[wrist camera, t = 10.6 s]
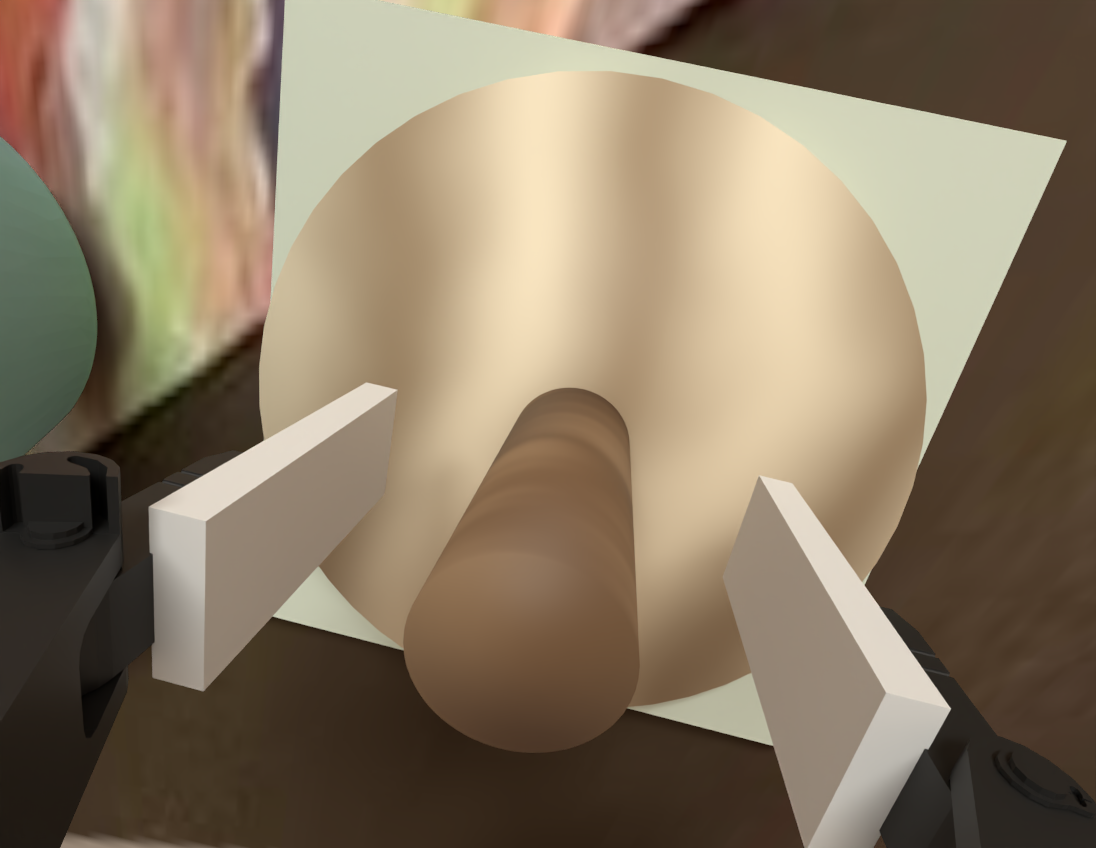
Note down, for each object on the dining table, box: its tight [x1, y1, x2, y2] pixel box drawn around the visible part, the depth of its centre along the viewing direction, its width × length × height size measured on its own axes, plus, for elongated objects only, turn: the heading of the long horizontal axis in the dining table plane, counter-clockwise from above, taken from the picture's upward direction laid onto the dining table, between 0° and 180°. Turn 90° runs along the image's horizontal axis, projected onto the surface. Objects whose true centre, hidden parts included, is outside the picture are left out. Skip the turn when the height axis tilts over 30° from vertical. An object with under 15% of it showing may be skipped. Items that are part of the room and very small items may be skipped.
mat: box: [271, 0, 1067, 746], centre depth 18 cm, size 20×20×1 cm
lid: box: [259, 71, 927, 753], centre depth 13 cm, size 19×19×10 cm
